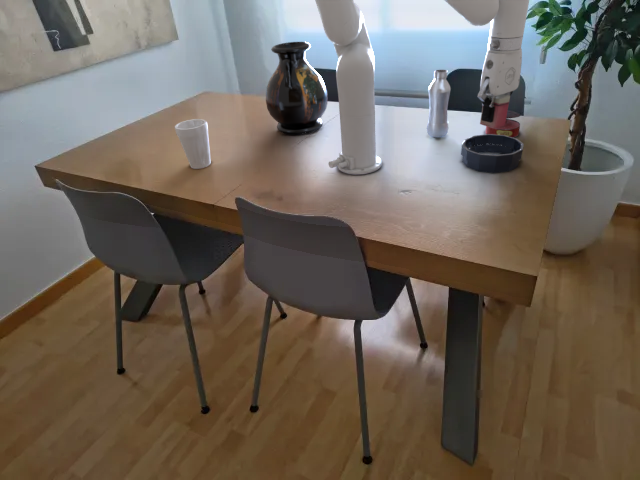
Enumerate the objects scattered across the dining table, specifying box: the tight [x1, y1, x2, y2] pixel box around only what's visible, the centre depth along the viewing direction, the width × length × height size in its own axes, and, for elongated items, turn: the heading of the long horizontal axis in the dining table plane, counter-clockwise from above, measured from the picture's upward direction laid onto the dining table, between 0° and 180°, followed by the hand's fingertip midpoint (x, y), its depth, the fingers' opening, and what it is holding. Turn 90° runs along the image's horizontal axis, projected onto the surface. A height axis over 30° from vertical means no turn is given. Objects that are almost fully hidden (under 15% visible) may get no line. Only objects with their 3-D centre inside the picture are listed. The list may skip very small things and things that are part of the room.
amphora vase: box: [265, 41, 329, 136], centre depth 152 cm, size 22×22×28 cm
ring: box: [460, 134, 525, 174], centre depth 122 cm, size 15×15×5 cm
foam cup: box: [174, 118, 212, 170], centre depth 136 cm, size 10×9×13 cm
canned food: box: [484, 110, 521, 138], centre depth 138 cm, size 11×10×10 cm
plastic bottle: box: [426, 69, 452, 138], centre depth 137 cm, size 6×7×20 cm
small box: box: [479, 94, 511, 129], centre depth 115 cm, size 5×4×8 cm
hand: (493, 118), depth 116 cm, fingers closed on small box, 4 cm apart
